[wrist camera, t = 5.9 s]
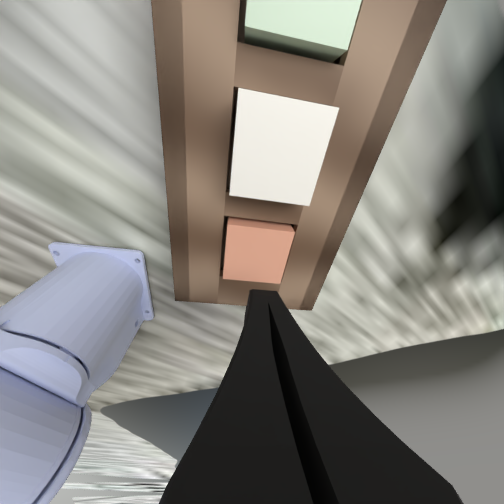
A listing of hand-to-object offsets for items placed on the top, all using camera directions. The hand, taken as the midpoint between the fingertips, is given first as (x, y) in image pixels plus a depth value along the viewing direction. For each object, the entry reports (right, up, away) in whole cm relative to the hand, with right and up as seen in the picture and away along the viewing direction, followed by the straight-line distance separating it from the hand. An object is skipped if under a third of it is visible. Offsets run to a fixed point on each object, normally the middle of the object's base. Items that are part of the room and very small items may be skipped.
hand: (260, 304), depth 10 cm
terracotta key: (0, +4, +7) cm, 8 cm away
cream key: (+1, +9, +3) cm, 9 cm away
